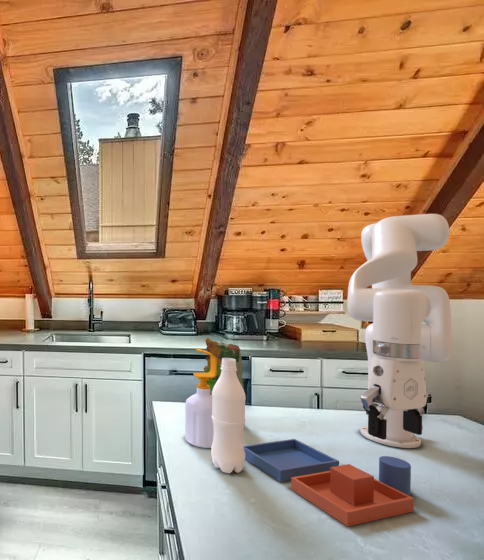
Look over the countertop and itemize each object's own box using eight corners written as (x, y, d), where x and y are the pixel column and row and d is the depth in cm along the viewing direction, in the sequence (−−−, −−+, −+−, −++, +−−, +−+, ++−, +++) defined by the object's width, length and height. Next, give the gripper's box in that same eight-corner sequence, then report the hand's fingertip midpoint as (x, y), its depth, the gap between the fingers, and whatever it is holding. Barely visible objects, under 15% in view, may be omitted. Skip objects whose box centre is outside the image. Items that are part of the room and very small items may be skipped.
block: (348, 488, 79) (349, 463, 79) (373, 501, 74) (374, 476, 74) (329, 491, 78) (330, 467, 78) (354, 506, 73) (354, 479, 73)
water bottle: (248, 477, 84) (249, 363, 83) (213, 474, 85) (214, 361, 85) (241, 462, 91) (242, 356, 90) (209, 459, 92) (209, 355, 92)
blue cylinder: (390, 482, 82) (390, 454, 82) (416, 495, 77) (417, 466, 77) (372, 486, 81) (373, 457, 81) (398, 499, 76) (399, 469, 76)
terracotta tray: (351, 478, 84) (351, 466, 84) (414, 511, 72) (414, 498, 72) (291, 489, 79) (291, 477, 79) (347, 526, 68) (347, 512, 68)
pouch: (244, 434, 107) (244, 344, 107) (199, 426, 112) (200, 341, 112) (245, 420, 117) (245, 338, 117) (204, 414, 122) (204, 335, 122)
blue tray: (294, 448, 98) (294, 438, 98) (339, 471, 86) (339, 460, 86) (240, 456, 94) (241, 446, 94) (280, 482, 82) (280, 470, 82)
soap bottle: (181, 433, 107) (182, 345, 107) (214, 434, 107) (215, 346, 106) (190, 448, 98) (191, 352, 98) (226, 449, 98) (227, 352, 97)
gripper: (383, 356, 73) (382, 446, 73) (447, 352, 77) (446, 437, 77) (345, 349, 80) (344, 431, 80) (406, 346, 84) (405, 424, 84)
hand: (394, 434), depth 78 cm, fingers open, 9 cm apart
